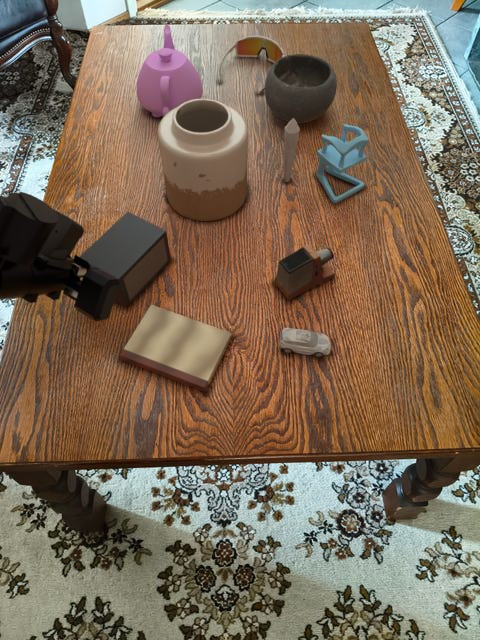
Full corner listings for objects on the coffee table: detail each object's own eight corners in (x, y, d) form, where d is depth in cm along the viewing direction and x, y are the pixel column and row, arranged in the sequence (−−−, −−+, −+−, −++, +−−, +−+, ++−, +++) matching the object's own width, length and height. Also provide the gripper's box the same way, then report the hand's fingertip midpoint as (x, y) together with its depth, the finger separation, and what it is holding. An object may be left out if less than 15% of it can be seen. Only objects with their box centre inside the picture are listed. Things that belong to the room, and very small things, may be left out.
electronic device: (335, 278, 86) (342, 249, 79) (288, 302, 83) (291, 274, 77) (319, 261, 88) (325, 231, 81) (273, 284, 85) (275, 255, 79)
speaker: (127, 309, 82) (118, 280, 76) (89, 287, 84) (77, 257, 78) (172, 261, 87) (167, 231, 81) (135, 241, 90) (127, 211, 84)
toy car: (329, 359, 77) (333, 349, 75) (277, 352, 78) (279, 342, 75) (331, 338, 79) (334, 328, 77) (280, 332, 80) (281, 321, 77)
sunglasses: (292, 62, 121) (293, 43, 117) (266, 104, 115) (266, 85, 111) (238, 48, 124) (237, 29, 120) (211, 88, 119) (209, 70, 114)
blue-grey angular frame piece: (335, 164, 101) (346, 111, 91) (364, 187, 98) (379, 134, 88) (306, 179, 99) (314, 126, 89) (334, 204, 95) (346, 151, 85)
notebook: (120, 360, 77) (118, 354, 75) (152, 309, 82) (150, 303, 81) (205, 392, 74) (204, 387, 73) (232, 337, 79) (232, 332, 78)
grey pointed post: (295, 184, 98) (303, 121, 86) (282, 186, 98) (288, 124, 86) (290, 175, 100) (298, 112, 88) (277, 178, 99) (283, 115, 87)
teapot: (143, 77, 118) (134, 23, 107) (204, 76, 118) (201, 22, 108) (135, 131, 107) (125, 77, 96) (202, 131, 107) (199, 76, 97)
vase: (261, 203, 95) (266, 126, 81) (189, 233, 91) (181, 157, 77) (222, 156, 102) (219, 78, 88) (153, 183, 98) (139, 105, 84)
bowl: (250, 120, 109) (251, 75, 101) (285, 86, 116) (289, 42, 108) (310, 144, 105) (316, 100, 96) (343, 108, 112) (351, 64, 103)
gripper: (91, 245, 58) (163, 246, 72) (-22, 184, 63) (66, 196, 77) (64, 330, 61) (138, 315, 75) (-41, 266, 66) (47, 263, 81)
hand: (96, 270), depth 77 cm, fingers closed, pressing on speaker
